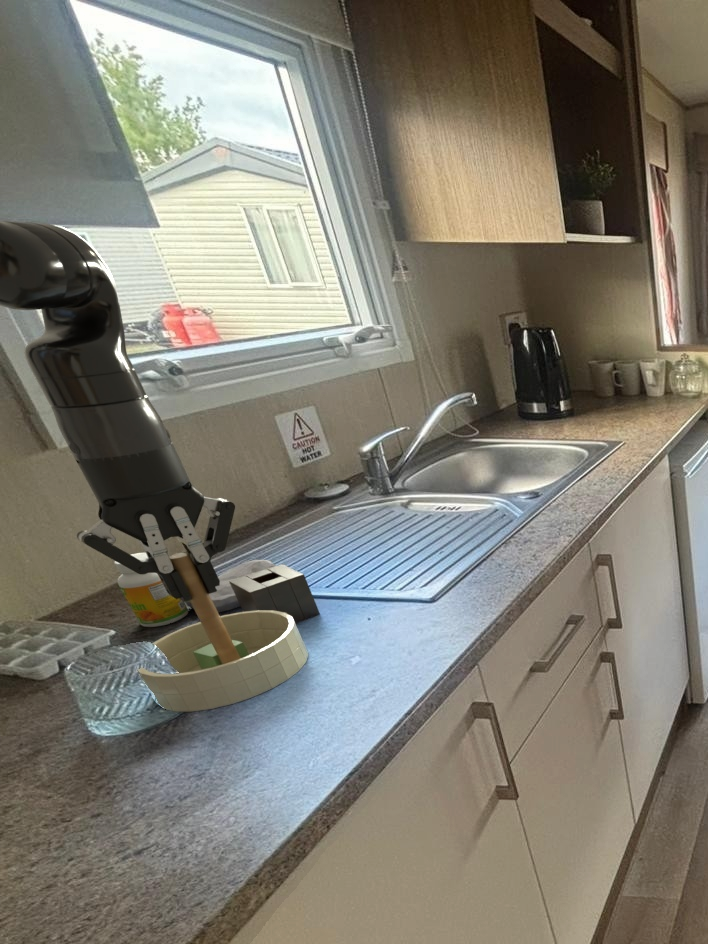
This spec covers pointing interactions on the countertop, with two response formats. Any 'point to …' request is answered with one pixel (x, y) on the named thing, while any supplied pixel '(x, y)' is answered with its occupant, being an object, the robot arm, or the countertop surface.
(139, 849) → the countertop surface
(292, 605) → the holder
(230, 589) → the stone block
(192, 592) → the stirrer
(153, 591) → the supplement bottle
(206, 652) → the sage block
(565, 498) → the countertop surface
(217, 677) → the bowl
